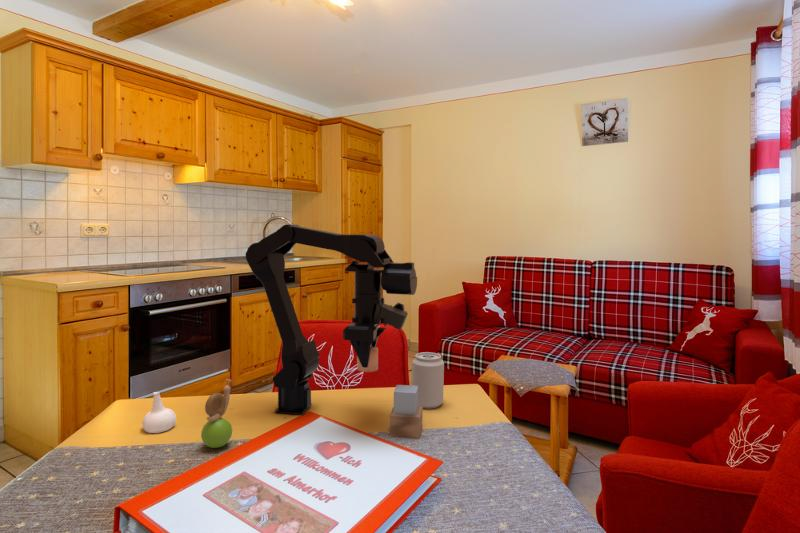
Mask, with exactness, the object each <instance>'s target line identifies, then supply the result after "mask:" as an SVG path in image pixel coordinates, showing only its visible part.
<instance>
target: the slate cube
mask: <svg viewBox="0 0 800 533" xmlns="http://www.w3.org/2000/svg"><path fill="white" fill-rule="evenodd" d="M393 407H394V414H406V415H416V412H417V408H418V386H412V385H409V384H408V385H407V384H406V385H405V384H396V386H395V387H394V391H393Z"/></svg>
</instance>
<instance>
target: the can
mask: <svg viewBox="0 0 800 533" xmlns="http://www.w3.org/2000/svg"><path fill="white" fill-rule="evenodd" d="M414 356H415V358H414V359H413V360H412V365H411V367H412V372H411V373H412V374H411V386H418V406H422V409H428V410H429V409H436V408H439V407H440V405H442V404H443V403H444V388H445V387H444V381H445V380H444V379H445V378H444V375H445V374H444V373H445V362H444V360H443V359H442V355H441V354H439V353H436V352H432V351H431V352H429V351H425V352H418V353H416V354H415V355H414Z"/></svg>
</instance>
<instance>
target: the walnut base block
mask: <svg viewBox="0 0 800 533" xmlns="http://www.w3.org/2000/svg"><path fill="white" fill-rule="evenodd" d="M422 428H423V408H422V406H418V408H417V412H416V415H406V414H394V406H393V407H392V409H391V412H390V413H389V435H388V436H389V437H392V438H407V439H418V440H419V439H420V437H421V432H422V430H423V429H422Z"/></svg>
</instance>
